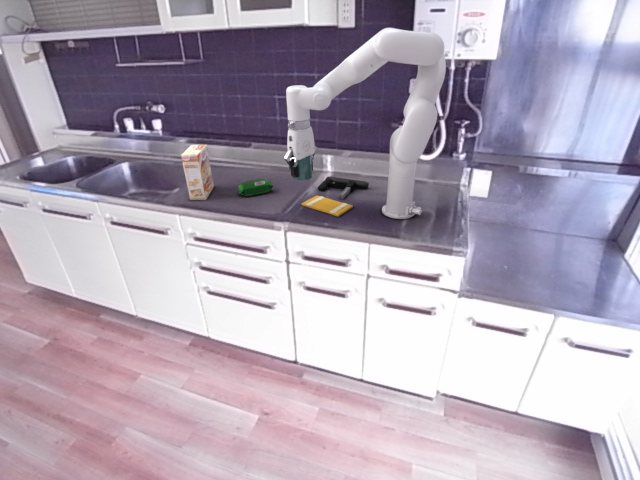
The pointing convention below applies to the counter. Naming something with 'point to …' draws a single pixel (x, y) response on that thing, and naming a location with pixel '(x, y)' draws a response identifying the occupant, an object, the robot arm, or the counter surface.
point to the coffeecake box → (197, 172)
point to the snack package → (255, 187)
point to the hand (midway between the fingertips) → (302, 173)
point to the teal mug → (304, 169)
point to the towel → (327, 205)
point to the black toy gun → (342, 185)
